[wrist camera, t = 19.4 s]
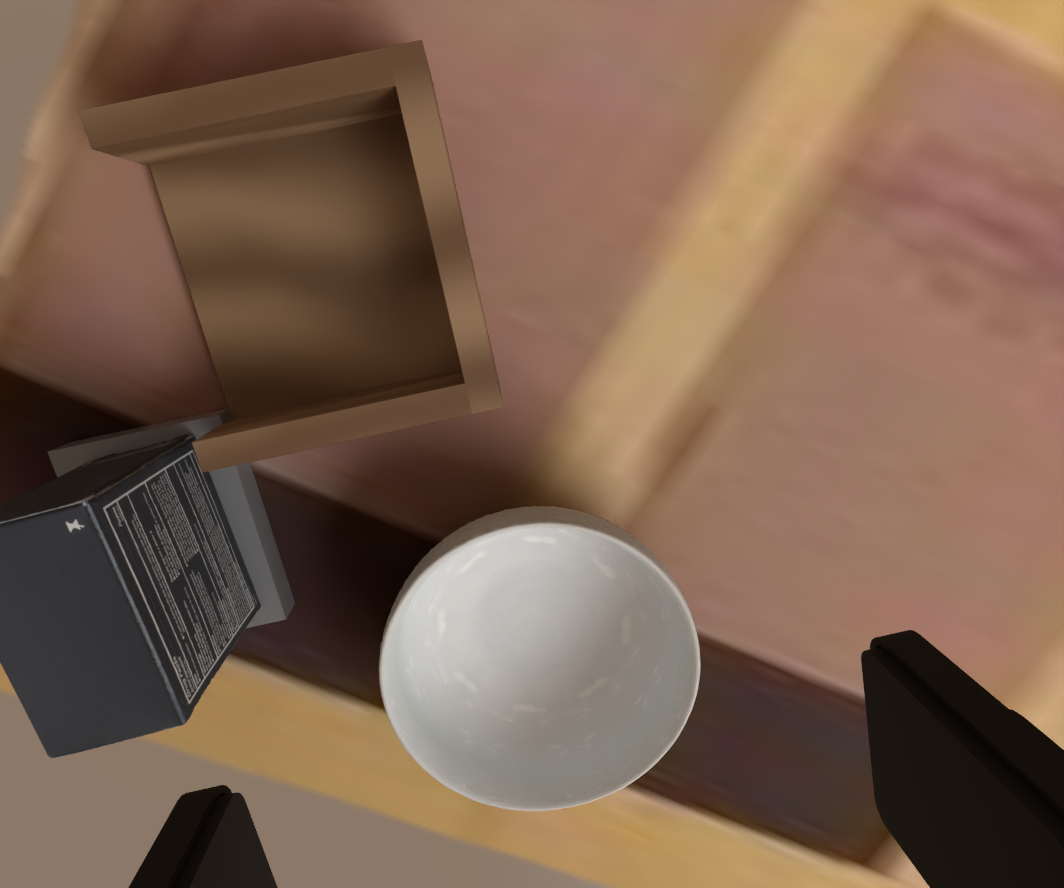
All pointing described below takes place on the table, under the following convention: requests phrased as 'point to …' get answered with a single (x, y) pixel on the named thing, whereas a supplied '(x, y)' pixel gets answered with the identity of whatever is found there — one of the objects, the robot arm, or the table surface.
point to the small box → (119, 596)
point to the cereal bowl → (539, 660)
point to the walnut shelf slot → (317, 249)
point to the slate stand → (233, 493)
